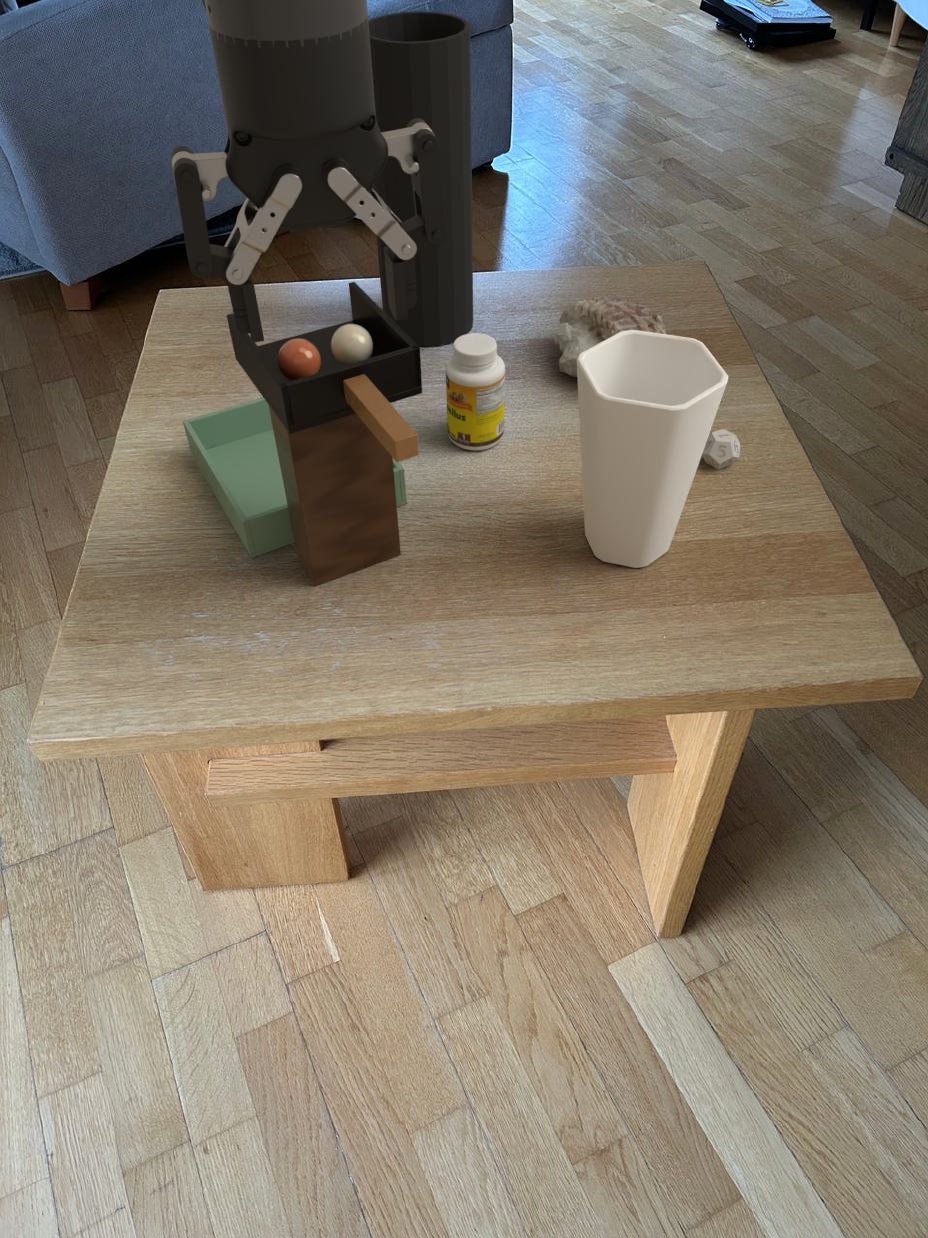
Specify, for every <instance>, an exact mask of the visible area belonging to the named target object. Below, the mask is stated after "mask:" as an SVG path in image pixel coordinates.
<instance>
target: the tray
mask: <svg viewBox="0 0 928 1238" xmlns="http://www.w3.org/2000/svg"><path fill="white" fill-rule="evenodd" d="M182 425H183V428H184V432H185V436H186V439H187V444H188V447H189V450H190V453H191V456H192V458H193V460H194V462H195V464H196V465H197V468H198V469H199V471H200V472H201V474H202V475H203V477H204V479H205V481H206V483H207V484H208V486H209V487H210V490H211V491H212V493H213V495H214V497H215V498H216V500H217V502H218V504H219V505H220V507H221V508H222V511H223V512H224V514H225V516H226V517H227V519H228V521H229V523H230V524H231V527H232V528H233V529H234V531H235V533H236V534H237V536H238V539H239V540H240V541H241V544H242V545H243V547H244V548H245V550H246V552H247V554H248V555H249V557H250V558H255V557H257V556H260V555H263V554H267V553H269V552H272V551H275V550H277V549H281V548H284V547H287V546H289V545H292V544H295V542H294V536H293V531H292V526H291V521H290V515H289V510H288V505H287V500H286V494H285V489H284V484H283V479H282V473H281V468H280V463H279V458H278V452H277V447H276V442H275V437H274V431H273V426H272V421H271V416H270V410H269V405H268V403H267V402H266V400H265V399H264V398H263V397H259V398H257V399H252V400H250V401H246V402H242V403H240V404H236V405H233V406H229V407H226V408H222V409H219V410H215V411H212V412H209V413H205V414H202V415H198V416H194V417H191V418H188V419H184V420H183V421H182ZM393 468H394V480H395V492H396V503H397V508H398V507H401V506H404V505H407V504H408V501H407V486H406V475H405V474H406V473H405V468H404V466H403V465H402V463H401V462H400V461H399V462H396V461H395V460H394V459H393Z"/></svg>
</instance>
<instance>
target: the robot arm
mask: <svg viewBox="0 0 928 1238" xmlns="http://www.w3.org/2000/svg"><path fill="white" fill-rule="evenodd" d="M201 2H202V5H203V7H204V10H205V13H206V17H207V22H208V28H209V33H210V34H209V35H210V39H211V44H212V50H213V55H214V61H215V66H216V71H217V77H218V81H219V82H218V83H219V88H220V94H221V99H222V104H223V110H224V115H225V120H226V126H227V141H226V144H225V145H226V146H225V148H224V150H223V151H217V152H216V151H215V152H198V153H194V152H193V150H192V149H190V148H189V147H188V146H185V145H184V146H183V145H179V146H176V147H174V148H173V149H172V151H171V153H170V161H171V166H172V173H173V179H174V185H175V190H176V196H177V203H178V209H179V214H180V221H181V226H182V232H183V233H182V234H183V238H184V239H183V240H184V244H185V250H186V255H187V261H188V266H189V270H190V272H191V274H192V275H193V276H194V277H196V278H198V279H206V278H208V277H213V278H217V279H220V280H222V281H223V282H224V283H225V284H226V285H227V288H228V295H229V299H230V304H231V309H232V313H233V314H234V318H235V322H236V327H237V328H238V330H239V331H240V333H241V334H249V335H250V337H251V339H252V343H260V342H265V337H264V332H263V326H262V325H263V324H262V320H261V315H260V310H259V305H258V299H257V294H256V288H255V283H254V280H253V277H252V273H253V270H254V268H255V266H256V265H257V262H258V261H259V259H260V257H261V255H262V254H265V253H266V252H267V250H268V249H269V248H270V245H271V243H272V241H273V240H274V238H275V237H276V234H277V232H278V230H279V229H282V230H286V231H288V232H289V234H290V235H292V234H300V233H306V232H308V231H311V230H312V229H315V228H317V227H321V228H330V229H336V228H337V229H338V228H343V227H347V226H348V225H347V224H348V223H347V222H350V221H352V220H353V219H354V218H356V216H358V217H359V218H360V220H362V222H363V223H364V224H365V225H366V226H367V228H369V229H370V230H371V231H372V233H374V235H377V236H378V237H380V238H381V239H382V240H383V241H384V242H385V243H386V244H387V245H388V247H384V255H385V267H386V280H387V292H388V302H389V307H390V310H391V312H392V314H393V316H394V318H395V320H402V319H407V318H408V313H407V309H411V308H414V307H415V304H416V301H417V293H416V275H415V256H416V254H417V253H418V251H419V250H420V249H422V248H423V247H425V246H427V245H429V244H433V245H439V244H441V243H442V242H444V240H445V239H446V237H447V226H446V215H445V204H444V193H443V182H442V171H441V160H440V149H439V141H438V139H437V138H436V136H435V135H434V133H433V132H432V130H431V129H430V128H429V126H428V125H427V124H426V123H425V121H424V120H422V119H419V118H415V119H412V120H411V121H410V122H409V123H408V125H407V127H406V128H403V129H398V130H393V131H387V132H382V133H381V132H380V130H379V127H378V124H377V120H376V112H375V99H374V87H373V74H372V61H371V49H370V35H369V22H368V20H369V10H368V0H201ZM388 156H393V157H396V158H397V160H398V163H399V164H400V166H401V167H402V169H403V170H404V172H406V173H408V174H411V180H412V189H413V198H414V206H415V216H414V217H412V218H410V219H408V220H406V221H404V222H401V220H400V219H399V218H398V217H397V216H396V215H395V214H394V213H393V212H392V211H391V209H390V208H389V207H388V206H387V205H386V204H385V203H384V201H383V200H382V199H381V197H380V196H379V195H378V194H377V193H376V191H375V190H374V189H373V186H374V184H375V182H376V180H377V179H378V177H379V175H380V173H381V171H382V170H383V168H384V166H385V164H386V162H387V159H388ZM224 178H228V179H229V180H230V181H231V183H232V184H233V185H234V187H236V188H237V189H238V191H240V192H241V193H242V194H243V196H245V197H246V198H245V200H244V202H243V204H242V206H241V207H240V210H239V211H238V214H237V217H236V222H235V225H234V227H233V229H232V231H231V233H230V234H229V237H228V239H227V240H226V242H225V244H224V246H223V245H219V244H214V243H213V244H212V243H210V238H209V231H208V224H207V218H206V217H207V216H206V211H205V205H204V202H210V201H212V200H213V199H214V198H215V197H216V195H217V192H218V184H219V182H220V181H221V180H223V179H224ZM377 236H376V237H377Z"/></svg>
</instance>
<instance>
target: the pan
mask: <svg viewBox="0 0 928 1238" xmlns="http://www.w3.org/2000/svg"><path fill="white" fill-rule="evenodd" d="M348 291H349V292H348V293H349V300H350V302H349V303H350V310H351V311H350V312H351V318H352V319H351V320H348V321H344V322H340V323H337V324H333V325H329V326H326V327H322V328H319V329H315V330H312V331H307V332H304V333H301V334H300V333H299V334H297V335H293V336H290V337H286V338H282V339H278V340H275V341H272V342H268V343H264V344H261V345H258V344H257V342H255V343H252V339H251V336H250V333H249V334H241V333H240V331H239V330H238V328H237V327H236V322H235V318H234V314H233V312H232V313H228V314H226V320H227V325H228V329H229V333H230V338H231V342H232V347H233V348H232V349H233V352H234V357H235V360H236V362H237V364H239V366H240V367H241V369H242V370H243V371H244V372H245V374H246V376H247V377H248V378H249V380H250V381H251V382H252V384H253V385H254V387H255V388H256V389H257V391H258V393H260V396H262V398H264V399H265V400H266V402H267V403H268V405H269V406H270V407H271V409H272V410H273V412H274V413H275V414H276V416H277V417H278V419H279V420H280V421H281V423H282V424H283V426H284V427H285V428H286V430H287V431H288V433H289V434H292V433H295V432H298V431H302V430H305V429H308V428H311V427H315V426H318V425H321V424H324V423H327V422H331V421H334V420H337V419H340V418H344V417H347V416H350V415H353V414H357V415H358V416H359V417H360V419H361V420H362V421H363V422H364V423H365V425H366V426H367V427H368V428H369V430H370V431H371V432H372V433H373V434H374V436H375V437H376V438H377V439H378V440H379V442H380V443H381V444H382V445H383V446H384V448H385V449H386V450H387V451H388V453H389V454H390V455H391V456H392V457H393V459H394V460H395V461H396V462H399V463H400V462H401V461H405V460H407V459H410V458H414V457H416V456H418V455H420V453H419V451H420V450H419V439H418V437H419V434H418V433H417V432H416V431H415V429H414V428H413V427H412V426H411V425H410V424H409V423H408V421H406V419H405V418H404V417H403V416H402V415H401V414H400V412H399V411H398V410H397V409H396V408H395V406H393V404H392V403H396V402H399V401H401V400H405V399H408V398H411V397H414V396H417V395H421V394H423V380H422V364H421V363H422V362H421V346H418V345H417V344H416V343H415V342H414V341H413V340H412V339H411V338H410V337H409V336H408V335H407V334H406V333H405V332H404V331H403V330H402V329H401V328H400V327H399V326H398V325H397V324H396V323H395V322H394V321H393V320H392V319H391V318H390V317H389V316H388V315H387V314H386V313H385V312H384V311H383V308H381V307H380V306H379V305H378V304H377V303H376V301H374V300H373V299H372V298H371V297H370V296H369V294H367V293H366V292H365V291H364V290H363V289H362V288H361V287H360V285H359V284H357V283H356V282H355V281H350V282H348ZM346 324H356V325H360V326H361V327H363V328H365V329H366V330H367V331H368V333H369V334H370V336H371V338H372V341H373V352H372V355H371V357H370V358H369V359H366V360H362V361H359V362H355V363H352V364H348V365H345V366H343V365H342V364H340V363H339V362H338V361H337V360H336V359H335V358H334V356H333V354H332V351H331V339H332V336H333V334H334V333H335V331H336V330H337V329H338V328H340V327H341V326H343V325H346ZM296 338H300V339H305V340H308V341H310V342H311V343H312V344H314V345H315V346H316V348H317V349H318V351H319V353H320V356H321V367H320V370H319V372H318V373H317V374H314V375H311V376H307V377H304V378H300V379H297V380H293V381H290V380H289V379H287V378H286V377H285V376H284V375H283V374H282V373H281V371H280V369H279V366H278V353H279V351H280V349H281V347H282V346H283V345H284V344H285V343H286V342H287V341H289V340H292V339H296Z"/></svg>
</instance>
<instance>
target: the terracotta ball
mask: <svg viewBox="0 0 928 1238" xmlns="http://www.w3.org/2000/svg"><path fill="white" fill-rule="evenodd" d="M278 366H279V369H280V371H281V373H282V374H283V375H284V376H285V377H286V378H287V379H289V380H290V381H293V380H297V379H300V378H304V377H307V376H311V375H314V374H317V373H318V372H319V370H320V367H321V356H320V353H319V351H318V349H317V348H316V346H315V345H314V344H312V343H311V342H310V341H308V340H305V339H300V338H296V339H292V340H289V341H287V342H286V343H285V344H284V345H283V346H282V347H281V349H280V351H279V353H278Z"/></svg>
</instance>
